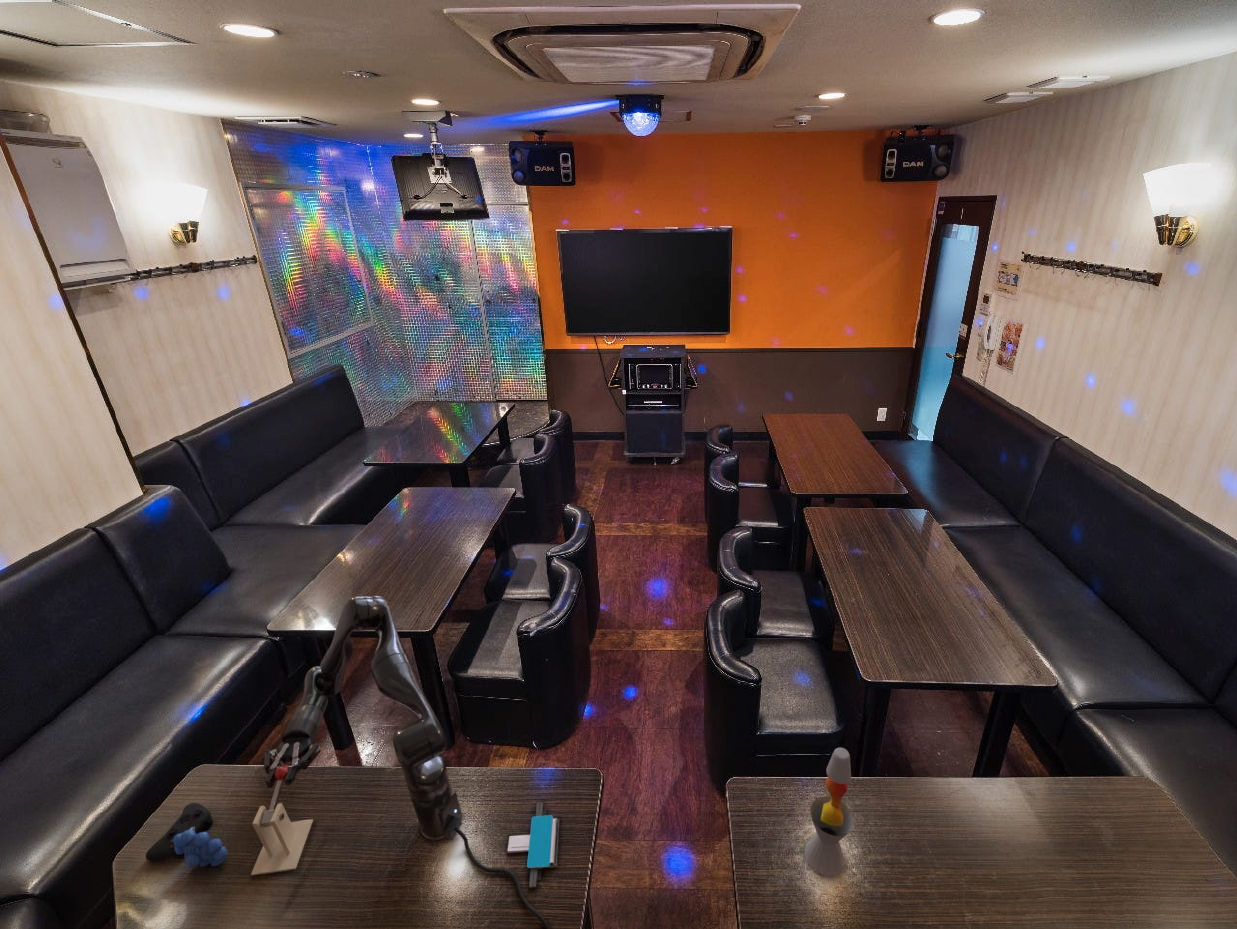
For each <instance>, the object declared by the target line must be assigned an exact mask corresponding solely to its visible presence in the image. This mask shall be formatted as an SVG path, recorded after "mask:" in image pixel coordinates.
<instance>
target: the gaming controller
mask: <svg viewBox="0 0 1237 929" xmlns="http://www.w3.org/2000/svg"><path fill="white" fill-rule="evenodd" d="M213 824H214V820H213V818H212V813H211V811H210V810H209V809H208V808H207V807H205V806H204V805H202V804H201V803H197V802H190V803H189V804H187V805H185V806H184V808H183V809H182V813H181V814H180V815H179V817H178V818H177V820H175V822H174V823H173V824H172V826H170V828H169V829H168V830H167V831H166V833H165V834H164V835H163V836H162V837H161V838H159V839H158V840H157V841H156V842H154V844H153V845H152V846H150V847H149V849H147V851H146V853H145V859H146V860H147V861H148V862H157V861H161V860H165V859H169V858H182V857H185V855H184V854H178V855H177V853H176V852H175V845H174V843H173V838H174V836H175V835H177V834H180V833H183V832H184V831H186V830H192V829H194V831H195V833H196V835H197V834H198V833H200V831H201V830H202V828H204V826H205V827H208V826H211V825H213Z"/></svg>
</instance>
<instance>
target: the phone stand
mask: <svg viewBox="0 0 1237 929" xmlns="http://www.w3.org/2000/svg"><path fill="white" fill-rule="evenodd" d="M535 808H536V809H535V816H532V817H531V822H530V823H531V824H530V833H529V834H520V835H509V838H508V844H507V854H511V853H512V854H514V853H528V854H527V861H526V862H527V864H526V867H527V868H528V869H530V870H529V883H528V884H529V885H528V889H537V881H542V875H543V869H551V868H552V869H553V868H558V858H559V840H560V839H559V838H560V837H559V836H560V820H561V818H560V817H554V815H552V814H548V815H547V809H544V801H543V802H540V801H539V802H536V807H535Z"/></svg>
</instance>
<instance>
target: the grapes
mask: <svg viewBox="0 0 1237 929" xmlns="http://www.w3.org/2000/svg"><path fill="white" fill-rule="evenodd" d="M173 843H174V845H175V852H176V853H177V855H178V854H184V855H185V856H184V862H185V865H186V867H187V869H188V868H193V867H197V866H198V865H199V867H200V868H203V867H206V866H208V865H211V867H218V866H219V865H221V864H222V863H223V862H224V861H225V859H226V858H228V856H229V853H228V852H229V851H228V849H227V847H226V846H223V842H222V840H221V838H218V837H217V838H212V839H211V836H210V834H209V832H208V831H201V832H198V833H197V835H196V833H195V831H194V829H192V830H186V831H184V832H183V833H180V834H177V835H175V836H174V838H173Z"/></svg>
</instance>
